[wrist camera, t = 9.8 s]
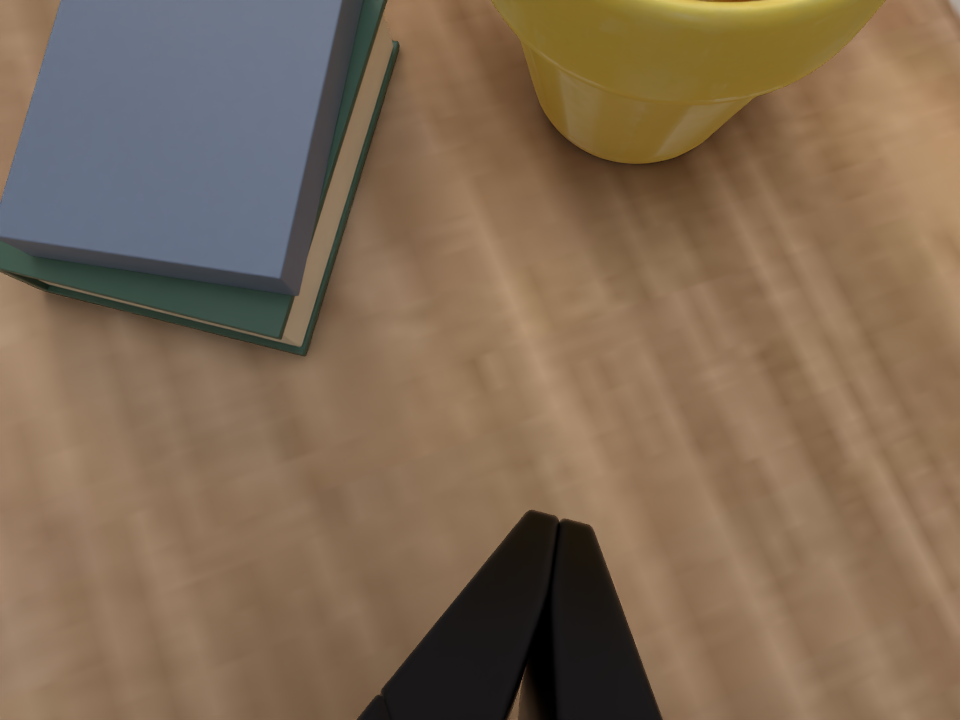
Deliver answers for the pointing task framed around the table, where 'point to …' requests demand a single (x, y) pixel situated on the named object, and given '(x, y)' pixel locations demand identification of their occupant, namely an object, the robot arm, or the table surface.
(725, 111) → the flower pot
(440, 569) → the table surface
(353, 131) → the books
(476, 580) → the robot arm
